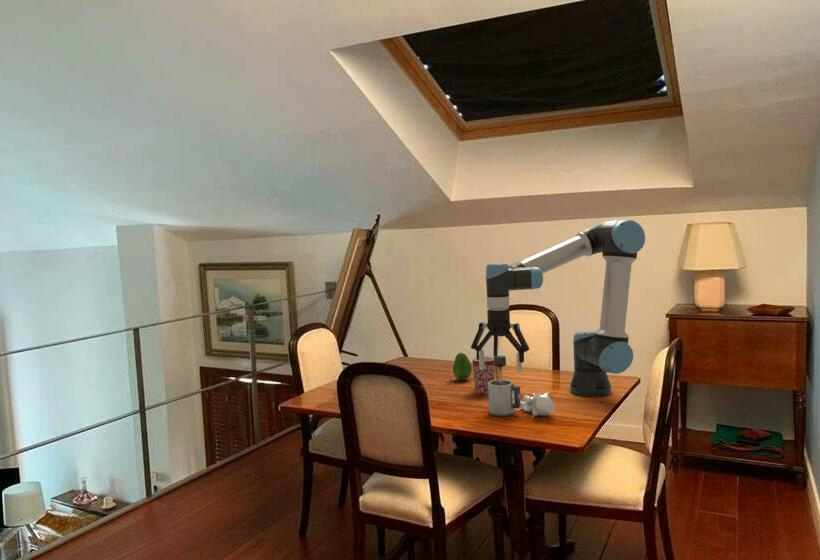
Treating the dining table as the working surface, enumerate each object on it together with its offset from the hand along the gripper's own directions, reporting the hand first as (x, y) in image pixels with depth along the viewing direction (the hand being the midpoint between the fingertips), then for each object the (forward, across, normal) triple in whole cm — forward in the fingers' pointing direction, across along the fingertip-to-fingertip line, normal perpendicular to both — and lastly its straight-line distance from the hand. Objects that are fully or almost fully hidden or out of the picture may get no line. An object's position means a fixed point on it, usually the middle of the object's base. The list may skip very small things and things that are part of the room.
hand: (500, 370), depth 210 cm
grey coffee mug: (+15, 0, 0) cm, 15 cm away
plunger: (+12, 0, 0) cm, 12 cm away
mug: (+15, +17, -25) cm, 33 cm away
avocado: (+15, +33, -38) cm, 53 cm away
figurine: (+15, -11, -4) cm, 19 cm away
